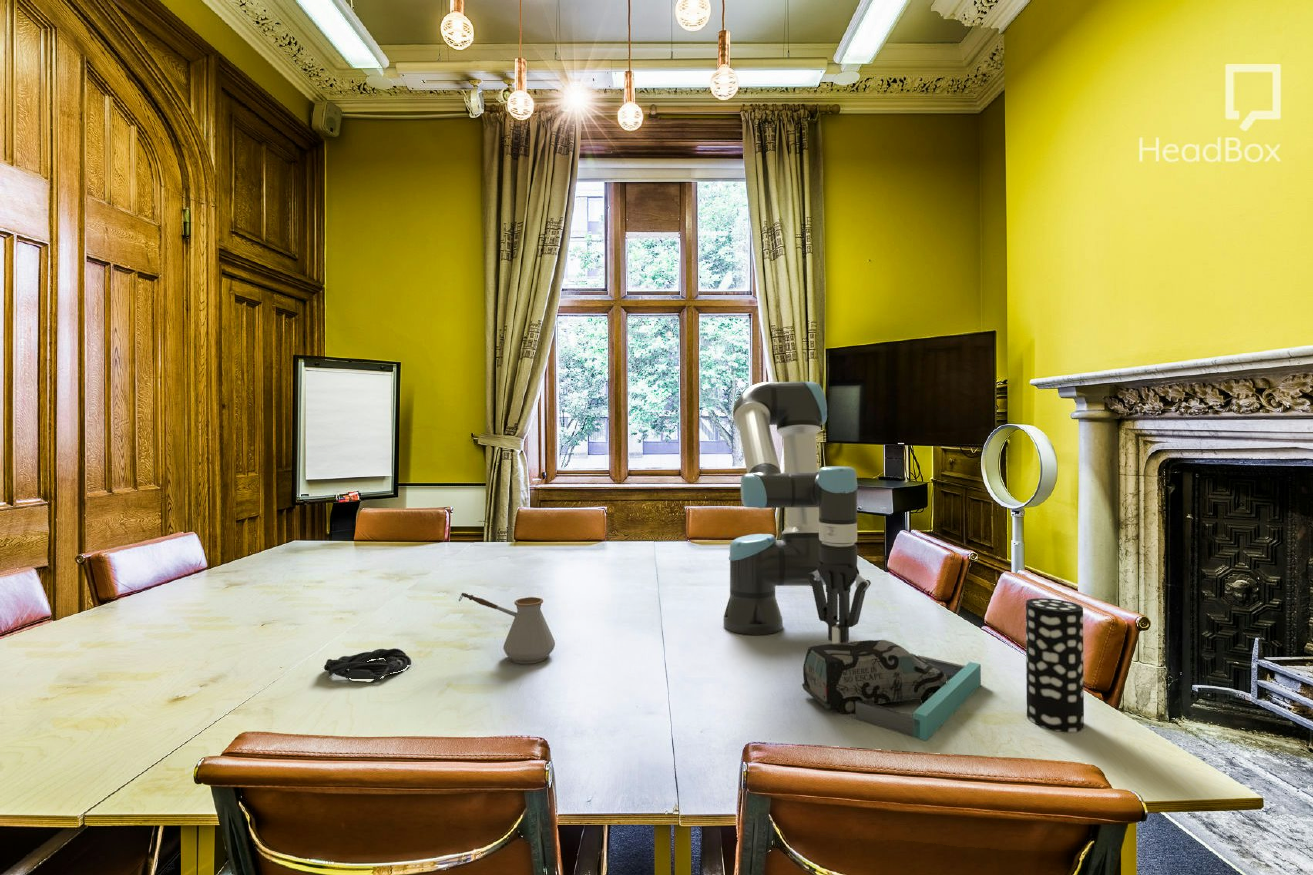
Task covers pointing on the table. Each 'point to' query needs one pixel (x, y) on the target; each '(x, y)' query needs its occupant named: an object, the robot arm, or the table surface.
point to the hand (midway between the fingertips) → (838, 657)
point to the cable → (368, 664)
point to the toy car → (867, 674)
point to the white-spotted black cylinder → (1055, 664)
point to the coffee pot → (524, 630)
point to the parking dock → (927, 702)
